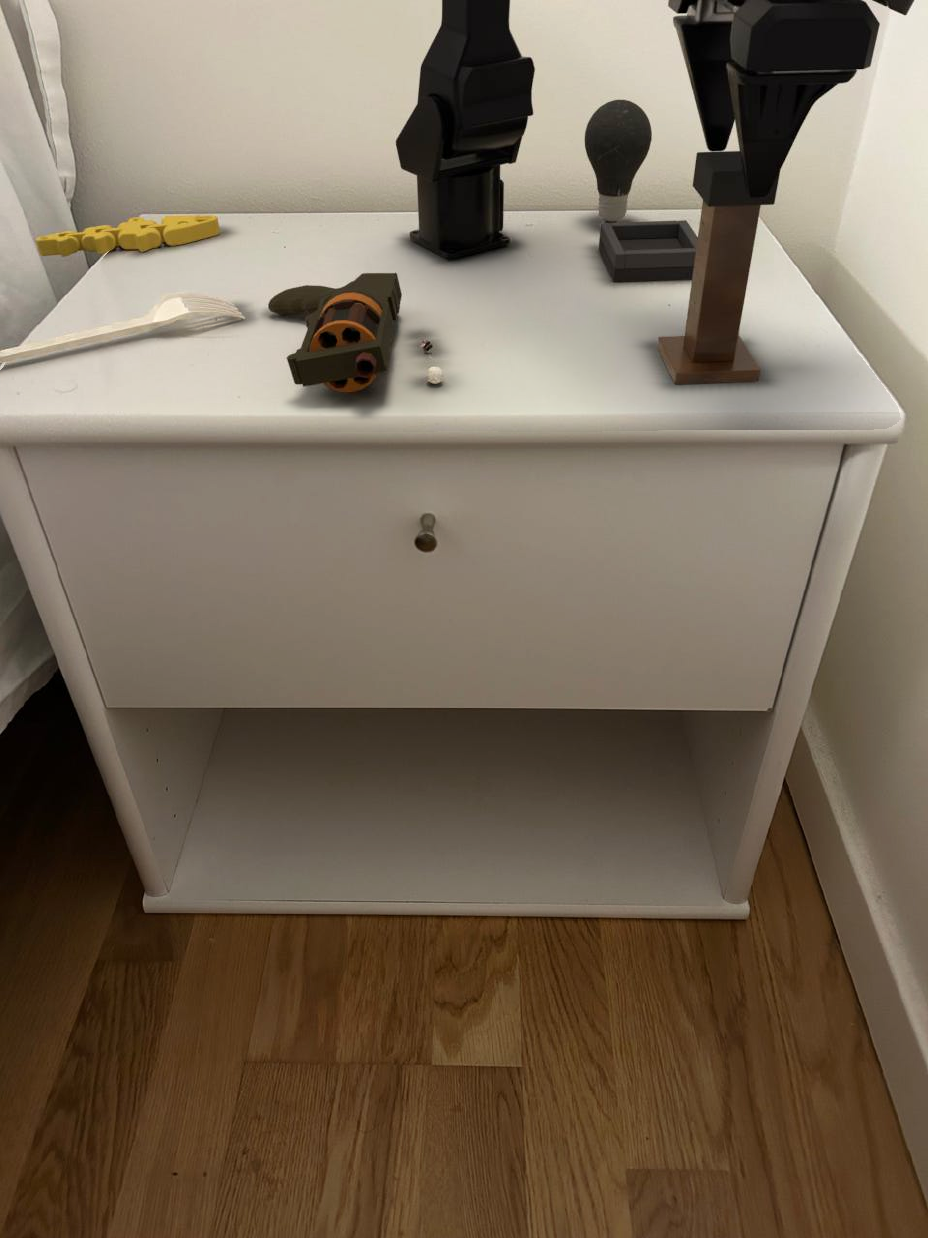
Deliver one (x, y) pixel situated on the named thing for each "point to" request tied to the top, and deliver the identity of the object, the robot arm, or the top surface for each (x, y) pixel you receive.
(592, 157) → the light bulb
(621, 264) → the base pad
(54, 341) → the fork
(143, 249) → the toy
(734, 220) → the stand
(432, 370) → the figurine set
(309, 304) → the toy gun
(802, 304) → the top surface
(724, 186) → the black block
